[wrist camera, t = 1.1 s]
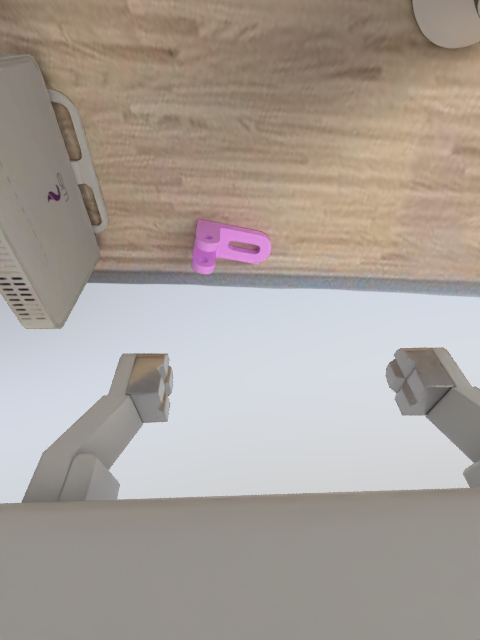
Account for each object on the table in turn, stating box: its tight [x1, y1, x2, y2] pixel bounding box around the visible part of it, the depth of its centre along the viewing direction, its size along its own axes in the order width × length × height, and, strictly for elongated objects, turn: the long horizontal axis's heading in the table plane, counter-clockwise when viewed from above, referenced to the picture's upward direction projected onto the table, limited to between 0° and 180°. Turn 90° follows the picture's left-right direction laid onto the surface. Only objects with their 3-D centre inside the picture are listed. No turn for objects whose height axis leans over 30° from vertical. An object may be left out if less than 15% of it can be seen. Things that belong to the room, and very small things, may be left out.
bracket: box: [191, 219, 271, 274], centre depth 49 cm, size 13×6×7 cm, turn 77°
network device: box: [0, 53, 109, 329], centre depth 36 cm, size 26×9×20 cm, turn 178°
